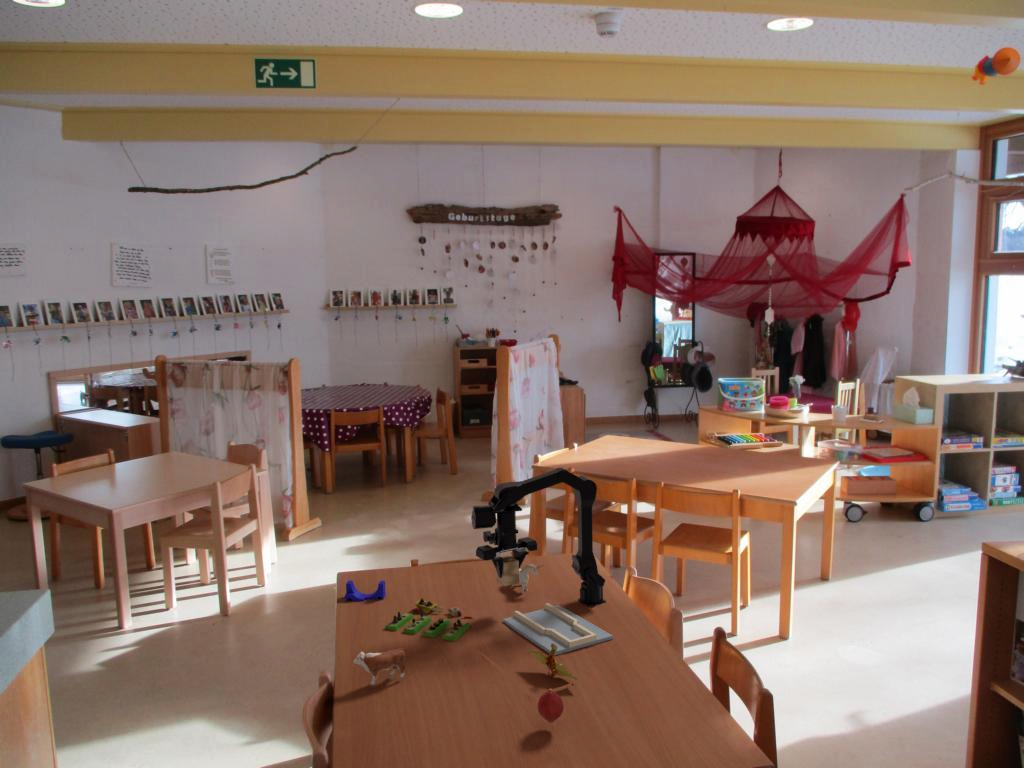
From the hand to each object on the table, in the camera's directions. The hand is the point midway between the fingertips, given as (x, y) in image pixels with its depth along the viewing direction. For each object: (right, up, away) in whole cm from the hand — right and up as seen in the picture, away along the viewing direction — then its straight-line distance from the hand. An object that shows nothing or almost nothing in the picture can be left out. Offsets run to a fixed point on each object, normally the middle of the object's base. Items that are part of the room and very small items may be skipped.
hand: (507, 575), depth 243 cm
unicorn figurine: (+5, -10, +18) cm, 22 cm away
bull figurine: (-32, -17, -41) cm, 54 cm away
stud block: (0, -2, 0) cm, 2 cm away
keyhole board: (+14, -13, -12) cm, 23 cm away
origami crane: (+9, -16, -37) cm, 42 cm away
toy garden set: (-22, -14, -5) cm, 26 cm away
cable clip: (-46, -12, +14) cm, 49 cm away
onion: (+10, -18, -63) cm, 66 cm away
